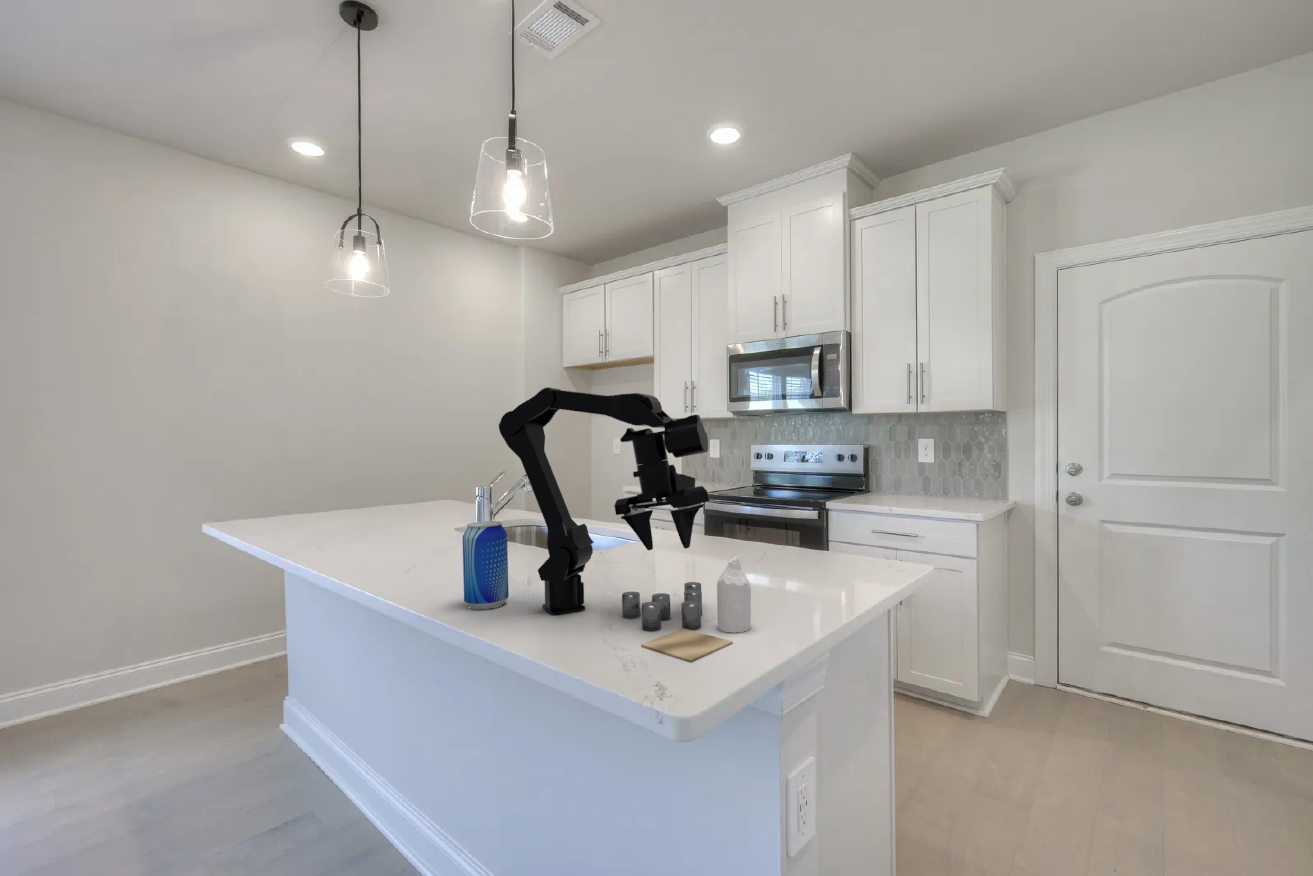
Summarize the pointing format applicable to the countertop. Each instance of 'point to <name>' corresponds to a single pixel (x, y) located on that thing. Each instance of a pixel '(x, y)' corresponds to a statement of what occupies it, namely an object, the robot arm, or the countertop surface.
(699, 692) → the countertop surface
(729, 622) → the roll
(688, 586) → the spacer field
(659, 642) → the mat
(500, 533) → the beer can
